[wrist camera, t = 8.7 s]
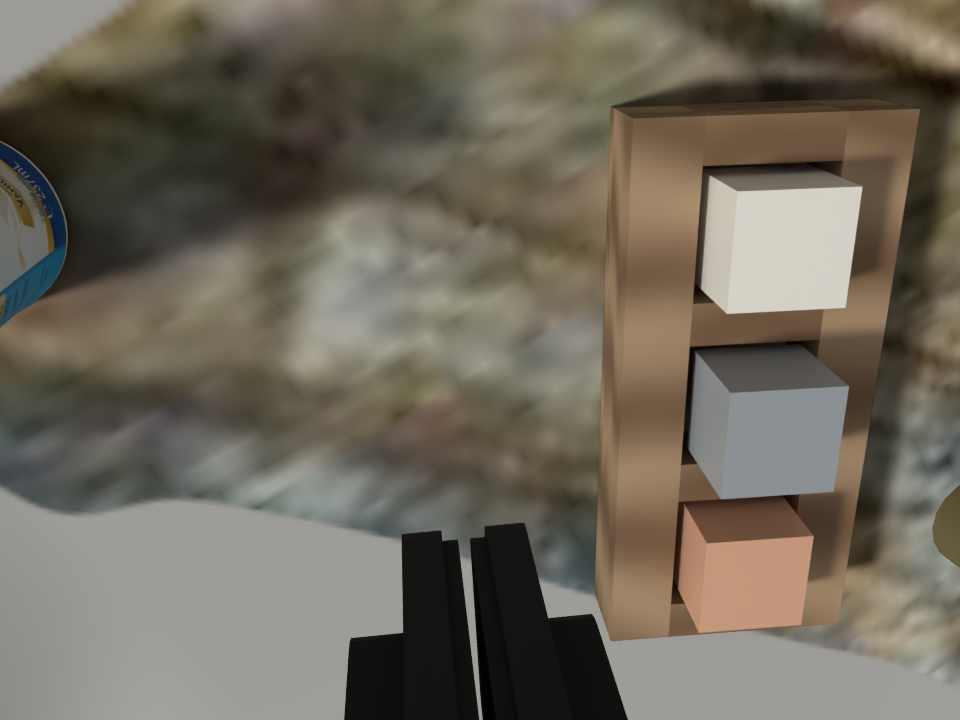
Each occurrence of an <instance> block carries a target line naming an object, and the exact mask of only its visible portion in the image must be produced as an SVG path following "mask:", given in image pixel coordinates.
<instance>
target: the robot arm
mask: <svg viewBox="0 0 960 720" xmlns="http://www.w3.org/2000/svg"><path fill="white" fill-rule="evenodd" d="M470 545H471V560H472V576H473V589H474V590H473V591H474V606H475V619H476V620H475V621H476V635H477V649H478V650H477V651H478V666H479V681H480V696H481V707H482V717H483V720H628V719H627V716H626V713H625V710H624V707H623V704H622V700H621V697H620V695H619V691H618V688H617V685H616V682H615V679H614V676H613V673H612V670H611V666H610V663H609V660H608V657H607V654H606V651H605V647H604V644H603V641H602V638H601V635H600V632H599V629H598V626H597V623H596V621H595V618H594V616H593V615H592V614H587V615H578V616H567V617H557V618H548V616H547V612H546V607H545V604H544V599H543V595H542V591H541V587H540V583H539V579H538V575H537V571H536V567H535V563H534V559H533V555H532V551H531V547H530V543H529V538H528V534H527V530H526V527H525V524H524V523H515V524H505V525H494V526H485V537H480V538H470ZM402 582H403V633H399V634H388V635H378V636H368V637H359V638H351V640H350V645H349V658H348V673H347V687H346V703H345V718H344V720H479V715H478V706H477V698H476V689H475V681H474V673H473V664H472V656H471V647H470V638H469V630H468V621H467V613H466V605H465V596H464V588H463V579H462V571H461V562H460V554H459V545H458V540H449V541H442V534H441V531H430V532H419V533H409V534H402Z"/></svg>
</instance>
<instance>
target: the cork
mask: <svg viewBox="0 0 960 720" xmlns="http://www.w3.org/2000/svg"><path fill="white" fill-rule="evenodd" d="M933 537H934V542H935V544H936V546H937V548H938V550H939V552H940V553H941V554H942V555H944V556H945V557H946V558H948V559H949V560H950V561H952V562H953V563H954V564H956V565H957V566H958V567H960V486H958V487H957V488H956V489H955V490H954V491H953V492H952V493H951V494H950V495H949V496H948V497H947V498H946V499H945V500H944V502H943V503H942V505H941V507H940V508H939V510H938V511H937V513H936V517H935V521H934V524H933Z"/></svg>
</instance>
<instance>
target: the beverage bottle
mask: <svg viewBox="0 0 960 720" xmlns="http://www.w3.org/2000/svg"><path fill="white" fill-rule="evenodd" d="M67 245H68V230H67V223H66V218H65V214H64V210H63V207H62V205H61V202H60V200H59V198H58V196H57V194H56V192H55V190H54V188H53V187H52V185H51V184H50V182H49V181H48V179H47V178H46V177H45V176H44V174H43V173H42V172H41V171H40V170H39V169H38V168H37V167H36V166H35V165H34V164H33V163H32V162H31V161H30V160H29V159H28V158H27V157H25V156H24V155H23V154H22V153H20V152H19V151H17V150H16V149H14V148H13V147H11V146H9V145H8V144H6V143H4V142H2V141H0V327H1V326H2V325H4V324H5V323H6V322H7V321H8V320H9V319H11V318H12V317H13V316H14V315H15V314H17V313H18V312H20V311H22V310H24V309H25V308H27V307H28V306H30V305H31V304H33V303H34V302H35V301H36V300H37V299H39V298H40V297H41V296H42V295H43V294H44V293H45V292H46V291H47V290H48V289H49V288H50V287H51V286H52V284H53V283H54V282H55V280H56V278H57V277H58V275H59V273H60V271H61V269H62V267H63V264H64V261H65V257H66V253H67Z"/></svg>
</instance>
